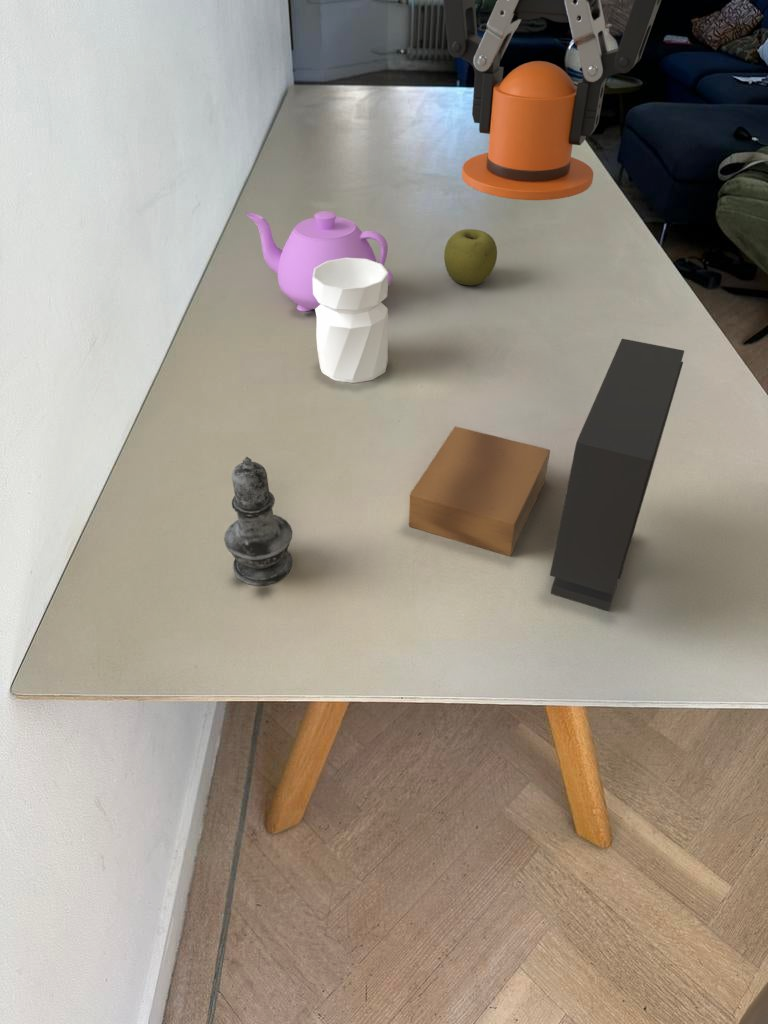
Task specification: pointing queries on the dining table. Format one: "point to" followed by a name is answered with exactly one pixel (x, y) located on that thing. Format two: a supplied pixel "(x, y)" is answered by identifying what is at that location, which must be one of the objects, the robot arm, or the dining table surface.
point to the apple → (470, 256)
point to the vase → (351, 319)
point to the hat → (530, 138)
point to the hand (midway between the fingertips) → (532, 135)
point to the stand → (479, 490)
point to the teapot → (315, 252)
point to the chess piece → (257, 529)
